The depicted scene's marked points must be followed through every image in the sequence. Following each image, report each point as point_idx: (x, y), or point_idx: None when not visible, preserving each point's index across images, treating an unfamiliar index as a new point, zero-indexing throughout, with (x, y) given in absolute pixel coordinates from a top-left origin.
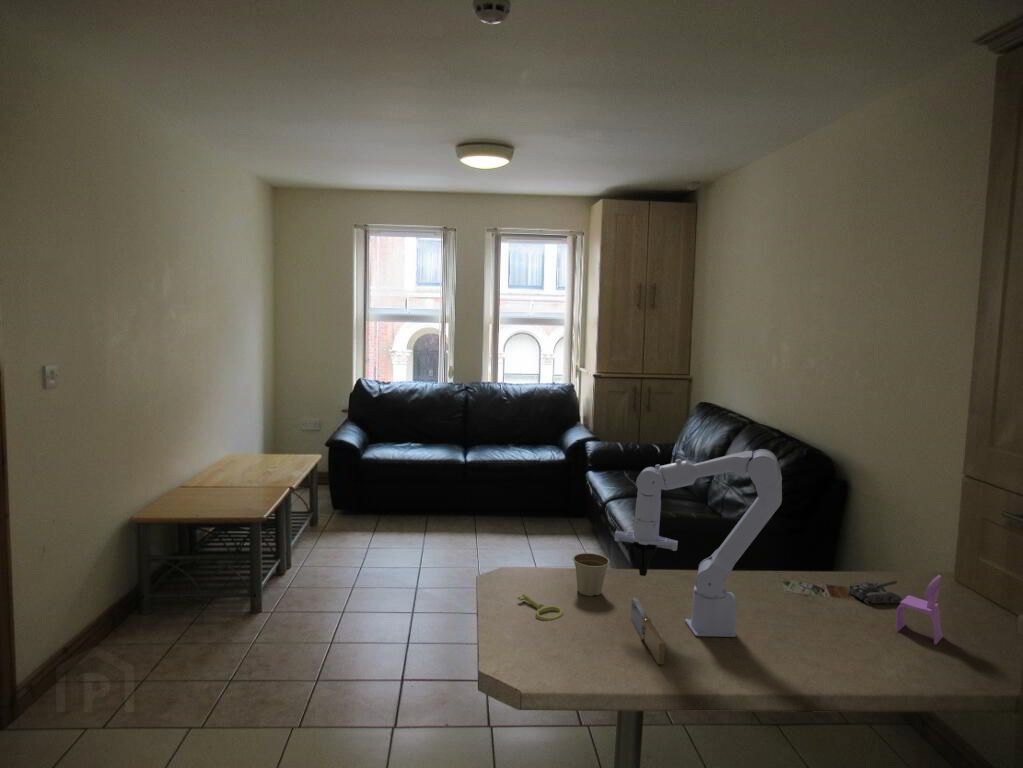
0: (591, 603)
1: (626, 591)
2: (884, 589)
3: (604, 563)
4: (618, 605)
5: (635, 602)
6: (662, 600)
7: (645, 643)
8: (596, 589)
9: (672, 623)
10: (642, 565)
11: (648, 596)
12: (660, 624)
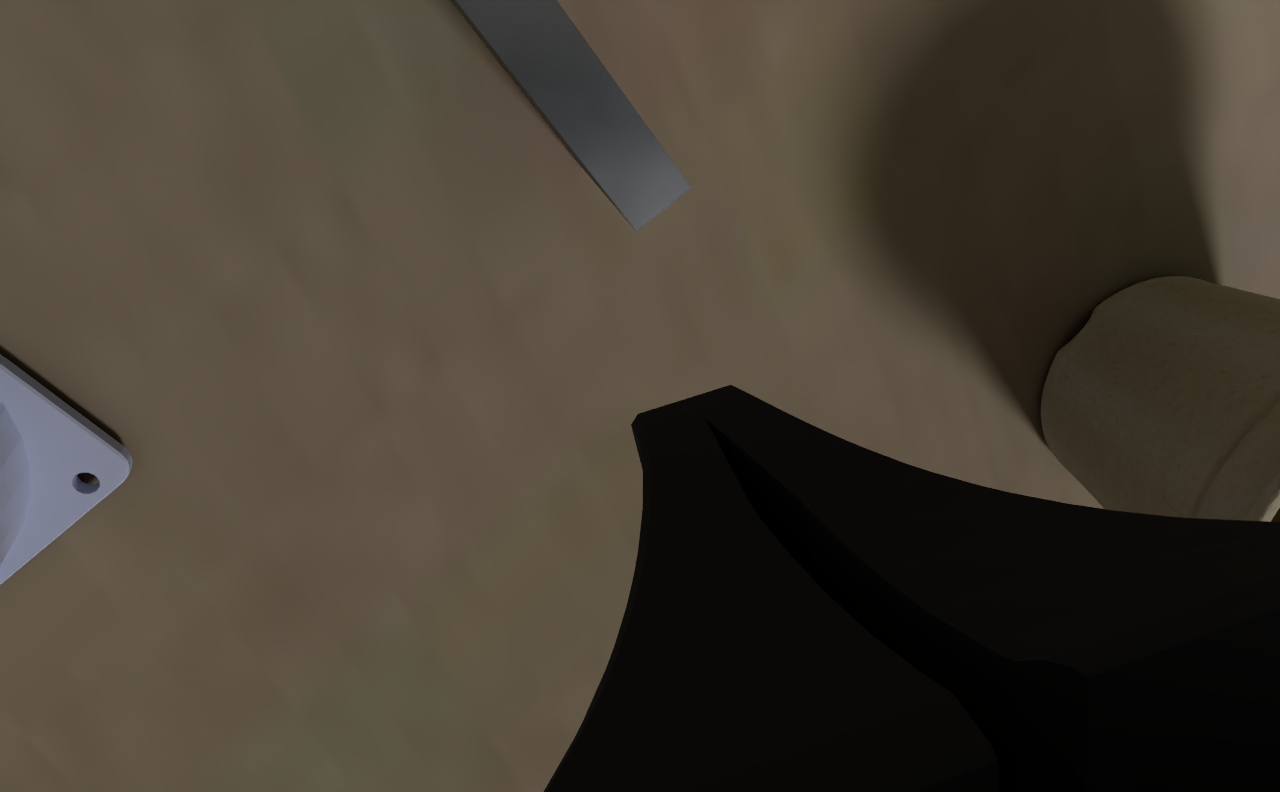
0: (1061, 164)
1: None
2: None
3: None
4: (831, 309)
5: (595, 81)
6: (546, 672)
7: None
8: (1106, 356)
9: (208, 320)
10: (766, 488)
11: None
12: (293, 204)
